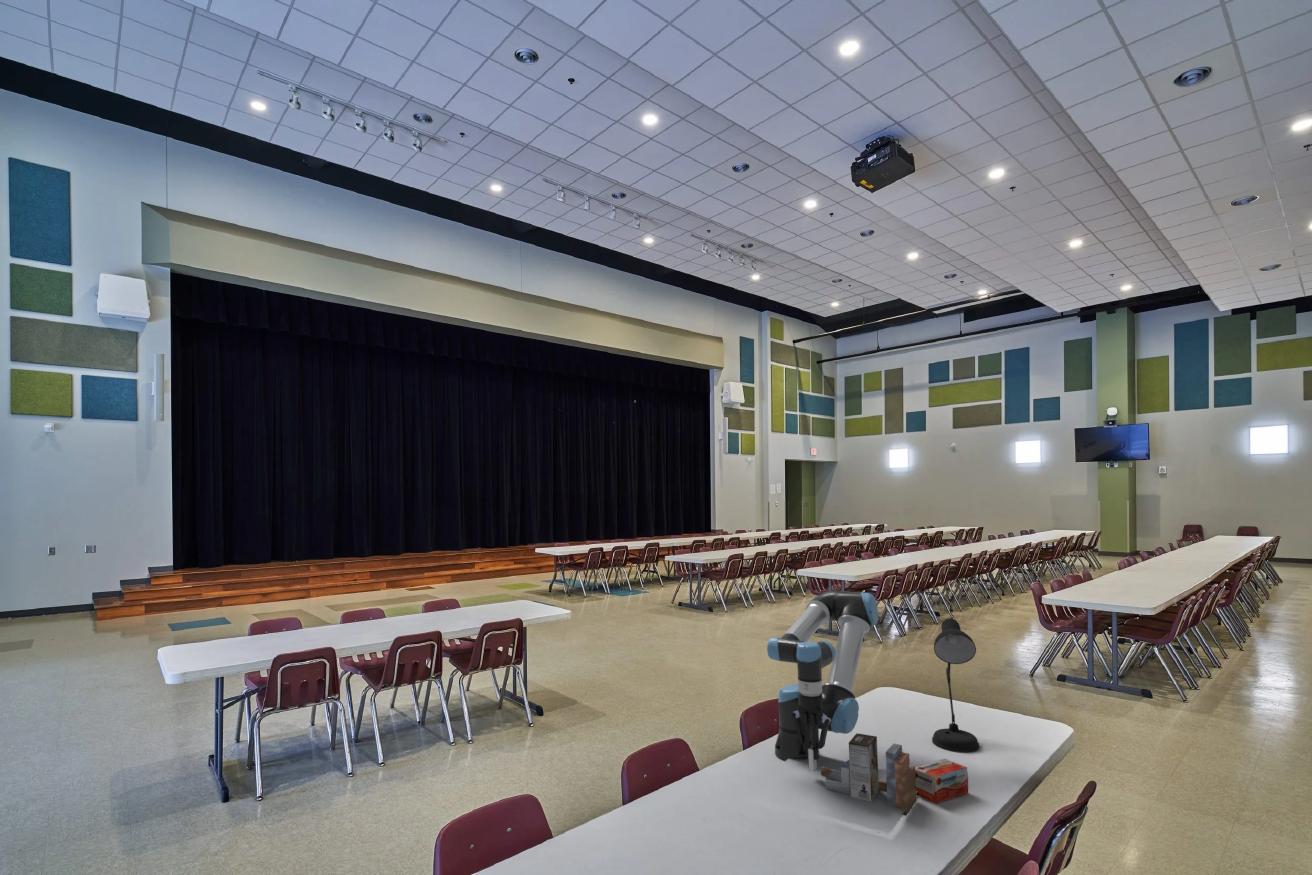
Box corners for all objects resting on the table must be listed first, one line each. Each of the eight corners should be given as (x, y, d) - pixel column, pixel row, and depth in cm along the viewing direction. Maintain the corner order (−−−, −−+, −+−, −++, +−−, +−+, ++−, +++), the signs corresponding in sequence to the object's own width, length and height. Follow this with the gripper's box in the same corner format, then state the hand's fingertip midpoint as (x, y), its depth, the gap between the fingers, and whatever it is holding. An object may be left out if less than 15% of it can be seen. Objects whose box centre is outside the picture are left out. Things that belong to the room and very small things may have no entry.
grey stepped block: (825, 788, 202) (824, 763, 203) (835, 779, 209) (834, 754, 209) (849, 794, 198) (849, 768, 199) (858, 785, 205) (857, 759, 205)
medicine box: (946, 783, 208) (945, 757, 209) (969, 793, 201) (968, 766, 202) (913, 794, 201) (912, 767, 202) (935, 805, 194) (934, 777, 195)
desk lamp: (960, 763, 223) (954, 627, 227) (902, 738, 247) (897, 615, 251) (1010, 751, 234) (1003, 621, 237) (950, 728, 257) (944, 610, 261)
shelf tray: (809, 790, 204) (807, 736, 206) (822, 777, 213) (820, 726, 215) (906, 815, 188) (904, 757, 189) (916, 800, 197) (914, 745, 198)
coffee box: (858, 785, 205) (856, 732, 206) (879, 790, 201) (877, 735, 203) (850, 797, 197) (848, 741, 198) (872, 802, 194) (870, 745, 195)
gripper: (786, 692, 213) (788, 768, 211) (825, 699, 205) (828, 778, 203) (795, 686, 219) (798, 760, 217) (834, 692, 211) (837, 769, 210)
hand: (812, 768), depth 210 cm, fingers closed
